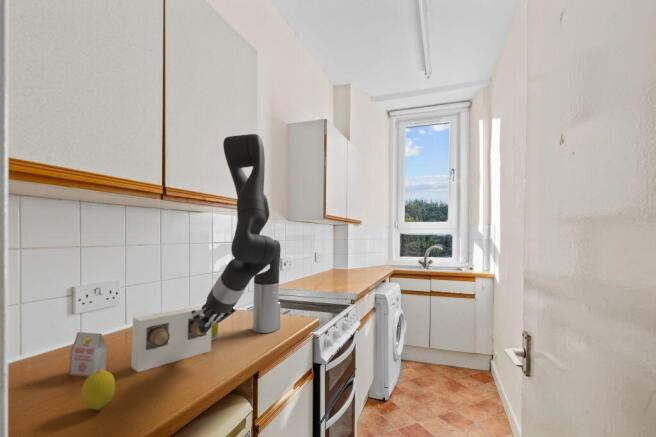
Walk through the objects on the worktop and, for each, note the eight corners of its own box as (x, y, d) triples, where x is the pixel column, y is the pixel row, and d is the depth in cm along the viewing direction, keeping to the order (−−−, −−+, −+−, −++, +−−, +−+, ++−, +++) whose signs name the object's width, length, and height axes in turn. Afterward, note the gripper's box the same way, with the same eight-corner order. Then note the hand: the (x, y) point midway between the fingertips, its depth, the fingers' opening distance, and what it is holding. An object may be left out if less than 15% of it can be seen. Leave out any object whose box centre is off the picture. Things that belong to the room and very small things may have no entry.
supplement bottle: (212, 341, 104) (213, 311, 104) (197, 340, 105) (198, 310, 106) (220, 336, 109) (221, 307, 110) (206, 335, 110) (207, 307, 111)
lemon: (117, 409, 64) (119, 369, 64) (83, 421, 60) (85, 378, 60) (110, 399, 67) (111, 361, 68) (77, 410, 63) (79, 369, 64)
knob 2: (198, 330, 97) (198, 316, 97) (208, 335, 93) (208, 319, 93) (184, 334, 93) (184, 318, 94) (193, 338, 89) (194, 322, 90)
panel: (202, 346, 99) (204, 304, 100) (210, 350, 96) (212, 307, 96) (131, 366, 84) (133, 317, 85) (137, 372, 81) (139, 320, 81)
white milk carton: (83, 368, 83) (84, 329, 83) (105, 370, 81) (107, 331, 82) (69, 374, 79) (71, 334, 79) (93, 377, 78) (94, 336, 78)
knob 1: (160, 339, 88) (161, 323, 89) (169, 344, 84) (170, 328, 85) (143, 343, 85) (144, 327, 85) (152, 349, 81) (152, 331, 81)
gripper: (242, 278, 91) (219, 315, 98) (198, 283, 81) (175, 323, 88) (253, 299, 87) (228, 336, 94) (208, 307, 77) (183, 347, 84)
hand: (202, 330), depth 91 cm, fingers closed
